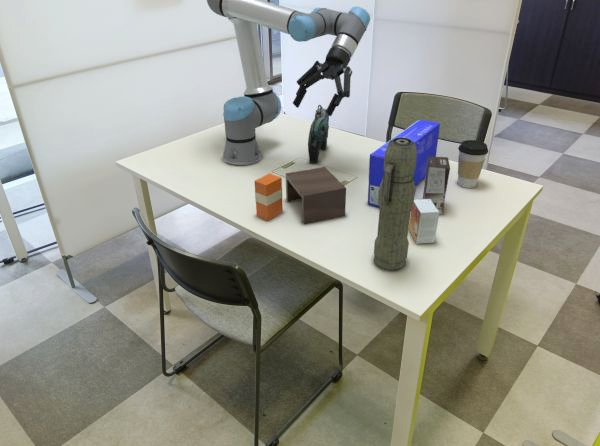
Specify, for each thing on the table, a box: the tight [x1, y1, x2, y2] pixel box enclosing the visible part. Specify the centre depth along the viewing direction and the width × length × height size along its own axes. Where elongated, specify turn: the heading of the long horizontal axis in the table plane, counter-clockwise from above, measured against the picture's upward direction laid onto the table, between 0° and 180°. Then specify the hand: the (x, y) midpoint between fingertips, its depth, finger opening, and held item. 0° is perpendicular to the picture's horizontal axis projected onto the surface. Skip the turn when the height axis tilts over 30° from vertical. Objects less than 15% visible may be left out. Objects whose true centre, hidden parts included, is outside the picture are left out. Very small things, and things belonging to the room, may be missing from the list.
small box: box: [408, 198, 440, 245], centre depth 140 cm, size 8×6×10 cm
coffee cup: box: [457, 139, 489, 189], centre depth 168 cm, size 10×10×15 cm
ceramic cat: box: [307, 104, 330, 165], centre depth 191 cm, size 20×6×20 cm, turn 164°
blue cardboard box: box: [367, 119, 441, 209], centre depth 167 cm, size 39×8×18 cm, turn 145°
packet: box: [254, 172, 284, 222], centre depth 152 cm, size 5×7×12 cm
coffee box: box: [422, 156, 451, 215], centre depth 154 cm, size 9×6×16 cm
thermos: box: [373, 138, 417, 272], centre depth 123 cm, size 9×12×35 cm
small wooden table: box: [285, 166, 347, 225], centre depth 156 cm, size 17×14×10 cm
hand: (311, 109), depth 154 cm, fingers open, 13 cm apart
